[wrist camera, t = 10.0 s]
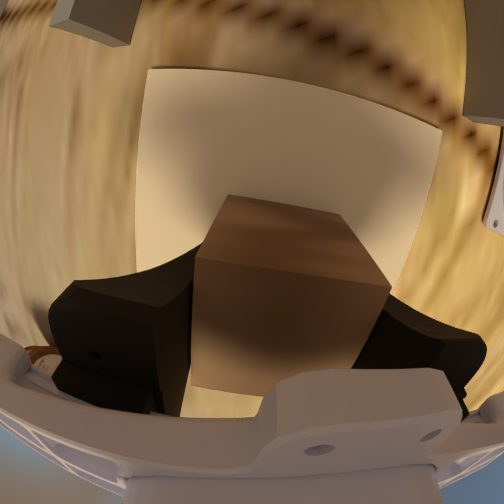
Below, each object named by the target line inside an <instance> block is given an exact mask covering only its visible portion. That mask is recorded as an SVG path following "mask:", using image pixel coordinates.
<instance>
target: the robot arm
mask: <svg viewBox="0 0 504 504" xmlns="http://www.w3.org/2000/svg"><path fill="white" fill-rule="evenodd" d="M493 223H494V224H493ZM483 224H484V226H485V227H486V228H487V229H489V230H492V231H494V232H496V233H499V234H501V235H504V130H503V138H502V144H501V150H500V156H499V161H498V166H497V171H496V175H495V180H494V184H493V188H492V192H491V195H490V199H489V202H488V206H487V209H486V212H485V216H484V219H483ZM201 244H202V243H201ZM201 244H199V245H198V246H196V247H194V248H193V249H191V250H189V251H188V252H186V253H184V254H183V255H181V256H179V257H177V258H175V259H173V260H171V261H169V262H167V263H164V264H162V265H160V266H157V267H154V268H151V269H148V270H145V271H141V272H138V273H134V274H130V275H126V276H120V277H114V278H107V279H95V280H74V281H73V282H72V283H71V284H70V285H69V286H68V287H67V288H66V289H65V290H64V291H63V293H62V294H61V295H60V296H59V297H58V298H57V299H56V300H55V301H54V302H53V303H52V304H51V307H50V309H49V314H48V320H49V324H50V328H51V332H52V334H53V337H54V339H55V342H56V345H57V347H58V350H59V352H60V354H61V357H62V360H61V362H60V363H59V365H58V367H57V368H56V370H55V371H54V373H53V374H50V373H48V372H46V371H44V370H42V369H40V368H38V367H37V366H35V365H33V364H32V363H31V360H30V357H29V355H28V353H27V352H26V350H25V349H24V348H23V347H22V346H21V345H20V344H18V343H17V342H15V341H13V340H11V339H9V338H8V337H6V336H4V335H3V334H0V426H2V427H3V428H4V429H5V430H7V431H8V432H9V433H11V434H12V435H13V436H15V437H17V438H18V439H19V440H20V441H22V442H23V443H25V444H26V445H28V446H29V447H30V448H32V449H33V450H35V451H37V452H38V453H39V454H41V455H43V456H44V457H46V458H47V459H49V460H50V461H52V462H54V463H55V464H57V465H59V466H61V467H62V468H64V469H66V470H68V471H69V472H71V473H73V474H75V475H77V476H79V477H81V478H83V479H85V480H87V481H89V482H91V483H93V484H95V485H97V486H99V487H101V488H104V489H106V490H108V491H110V492H113V493H115V494H118V495H120V496H123V500H122V503H121V504H443V500H442V496H441V493H440V488H442V487H445V486H447V485H449V484H451V483H453V482H455V481H457V480H459V479H461V478H463V477H465V476H467V475H469V474H471V473H473V472H475V471H477V470H479V469H481V468H483V467H484V466H486V465H487V464H489V463H490V462H491V461H493V460H494V459H496V458H497V457H498V456H499V455H501V454H502V453H503V452H504V391H503V392H500V393H497V394H494V395H492V396H490V397H489V398H487V399H486V400H485V401H484V402H483V403H482V405H481V406H480V407H479V409H477V410H474V411H470V412H469V411H468V409H467V407H466V405H465V403H464V401H463V398H465V397H466V395H467V393H466V391H465V389H464V387H465V386H466V385H467V383H468V382H469V381H470V380H471V379H472V377H473V376H474V375H475V373H476V372H477V371H478V370H479V368H480V367H481V365H482V364H483V361H484V359H485V357H486V352H487V346H486V344H485V342H484V341H483V340H482V338H481V337H480V336H479V335H478V334H475V333H472V332H468V331H465V330H461V329H458V328H455V327H452V326H449V325H447V324H444V323H442V322H439V321H437V320H435V319H432V318H430V317H428V316H426V315H424V314H422V313H420V312H418V311H416V310H415V309H413V308H411V307H410V306H408V305H406V304H405V303H403V302H401V301H400V300H398V299H397V298H395V297H394V296H392V295H391V294H389V296H388V298H387V300H386V302H385V305H384V307H383V309H382V311H381V313H380V315H379V317H378V319H377V321H376V323H375V325H374V327H373V329H372V331H371V333H370V335H369V337H368V339H367V341H366V343H365V345H364V346H363V348H362V350H361V352H360V354H359V355H358V357H357V359H356V361H355V363H354V364H353V366H352V368H351V369H339V368H327V369H318V370H308V371H302V372H300V373H298V374H295V375H293V376H291V377H288V378H286V379H284V380H281V381H279V382H277V383H276V384H275V385H274V386H273V387H272V388H271V390H270V391H269V392H268V393H267V394H266V395H265V396H264V397H263V400H262V403H261V405H260V408H259V411H258V413H257V414H256V416H255V417H248V418H186V417H180V412H181V407H182V402H183V397H184V392H185V387H186V383H187V378H188V374H189V369H190V365H191V331H192V304H193V284H194V267H195V256H196V254H197V252H198V250H199V248H200V246H201Z"/></svg>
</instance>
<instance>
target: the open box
mask: <svg viewBox="0 0 504 504" xmlns="http://www.w3.org/2000/svg"><path fill="white" fill-rule="evenodd" d="M140 3H141V0H58V1H57V3H56V6H55V9H54V12H53V15H52V18H51V21H50V25H49V26H51V27H55V28H58V29H62V30H65V31H68V32H71V33H75V34H78V35H81V36H84V37H86V38H89V39H92V40H95V41H98V42H100V43H103V44H105V45H108V46H111V47H118V46H126V45H130V41H131V36H132V32H133V28H134V25H135V21H136V17H137V14H138V10H139V7H140ZM464 3H465V13H466V27H467V74H466V89H465V99H464V108H463V116H465V117H466V118H468V119H470V120H471V121H473V122H475V123H483V124H490V125H497V126H503V127H504V0H464Z"/></svg>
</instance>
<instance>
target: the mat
mask: <svg viewBox="0 0 504 504" xmlns="http://www.w3.org/2000/svg"><path fill="white" fill-rule="evenodd" d="M442 132H443V131H442V130H440V129H438V128H435V127H433V126H431V125H429V124H427V123H425V122H422V121H420V120H418V119H415V118H413V117H411V116H408V115H406V114H403V113H401V112H398V111H396V110H393V109H391V108H388V107H385V106H382V105H380V104H377V103H374V102H371V101H368V100H365V99H362V98H359V97H355V96H352V95H349V94H345V93H342V92H338V91H335V90H331V89H327V88H323V87H319V86H315V85H310V84H306V83H301V82H297V81H292V80H286V79H281V78H275V77H269V76H262V75H255V74H247V73H239V72H229V71H217V70H200V69H148V74H147V80H146V86H145V92H144V99H143V107H142V115H141V123H140V133H139V144H138V157H137V174H136V203H135V234H136V264H137V273H138V272H141V271H145V270H148V269H151V268H154V267H157V266H160V265H162V264H164V263H167V262H169V261H171V260H173V259H175V258H177V257H179V256H181V255H183V254H184V253H186V252H188V251H189V250H191V249H193V248H194V247H196V246H198V245H199V244H201V243H202V242H203V240H204V238H205V237H206V235H207V233H208V231H209V229H210V227H211V225H212V223H213V221H214V219H215V218H216V216H217V214H218V212H219V210H220V208H221V206H222V205H223V203H224V201H225V199H226V197H227V195H228V194H229V195H235V196H242V197H248V198H254V199H260V200H266V201H272V202H278V203H283V204H289V205H294V206H300V207H305V208H310V209H315V210H320V211H325V212H330V213H335V214H340V215H341V217H342V218H343V219H344V221H345V222H346V223H347V224H348V226H349V227H350V228H351V230H352V231H353V232H354V234H355V235H356V236H357V238H358V239H359V240H360V242H361V243H362V244H363V246H364V247H365V248H366V250H367V251H368V253H369V254H370V255H371V257H372V258H373V260H374V261H375V262H376V264H377V265H378V267H379V268H380V270H381V271H382V272H383V274H384V275H385V277H386V278H387V280H388V281H389V283H390V284H391V286H392V289H391V291H390V294H391V295H392V293H393V290H394V288H395V286H396V284H397V281H398V279H399V276H400V274H401V272H402V269H403V267H404V264H405V262H406V259H407V257H408V254H409V251H410V249H411V246H412V243H413V240H414V238H415V235H416V232H417V229H418V226H419V223H420V220H421V217H422V214H423V210H424V207H425V204H426V200H427V197H428V193H429V190H430V186H431V182H432V178H433V174H434V170H435V166H436V162H437V157H438V153H439V148H440V143H441V138H442Z"/></svg>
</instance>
